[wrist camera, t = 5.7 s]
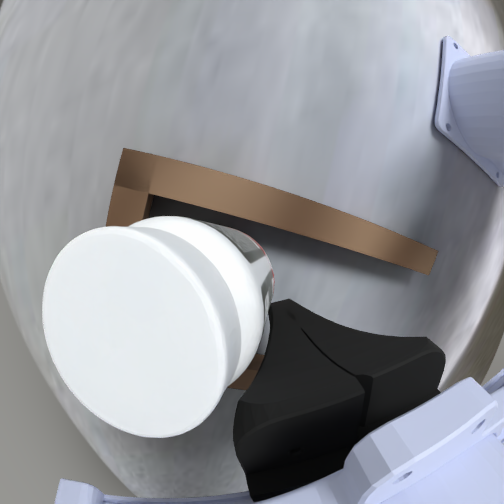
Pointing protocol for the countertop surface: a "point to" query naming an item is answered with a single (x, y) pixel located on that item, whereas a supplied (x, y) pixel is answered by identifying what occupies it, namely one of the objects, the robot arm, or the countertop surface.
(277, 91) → the countertop surface
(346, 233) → the walnut guide channel
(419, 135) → the countertop surface
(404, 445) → the robot arm
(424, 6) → the countertop surface
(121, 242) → the pill bottle
